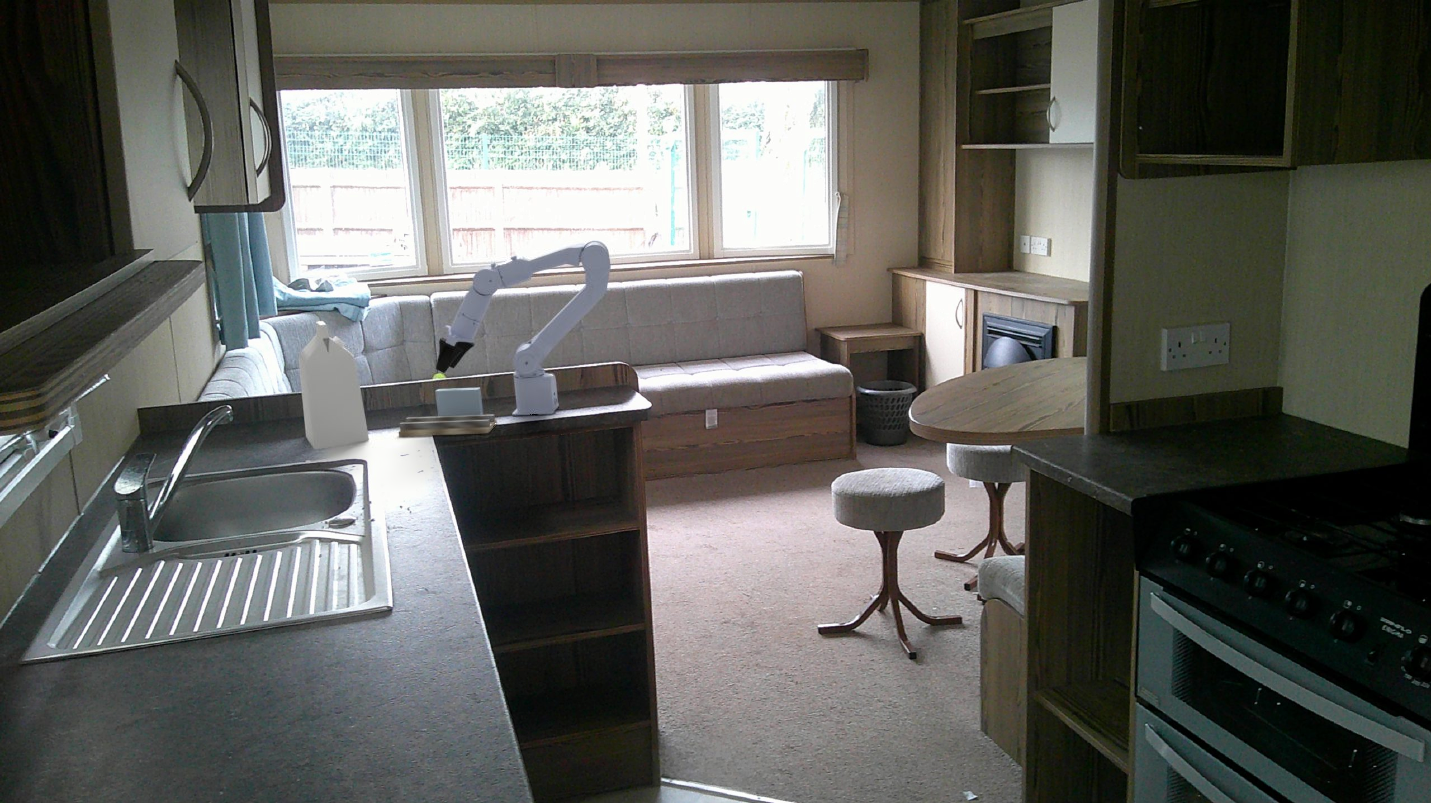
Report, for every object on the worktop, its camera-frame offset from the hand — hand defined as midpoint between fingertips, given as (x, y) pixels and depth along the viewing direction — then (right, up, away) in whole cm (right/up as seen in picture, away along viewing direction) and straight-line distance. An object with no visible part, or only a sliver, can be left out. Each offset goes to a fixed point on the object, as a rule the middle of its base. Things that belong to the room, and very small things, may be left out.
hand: (445, 368), depth 263 cm
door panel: (+3, -12, +2) cm, 12 cm away
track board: (+3, -14, -8) cm, 16 cm away
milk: (-21, -16, -10) cm, 29 cm away
